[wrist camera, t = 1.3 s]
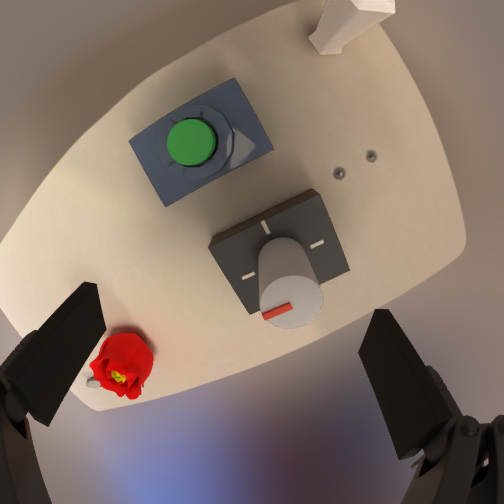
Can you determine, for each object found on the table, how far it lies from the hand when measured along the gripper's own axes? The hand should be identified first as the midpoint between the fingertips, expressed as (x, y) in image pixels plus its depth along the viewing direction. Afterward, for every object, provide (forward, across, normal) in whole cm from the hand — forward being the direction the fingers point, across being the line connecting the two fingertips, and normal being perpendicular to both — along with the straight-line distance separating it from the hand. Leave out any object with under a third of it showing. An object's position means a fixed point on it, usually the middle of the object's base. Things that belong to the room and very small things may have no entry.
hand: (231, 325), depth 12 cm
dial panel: (+18, +4, -3) cm, 19 cm away
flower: (+19, -15, -20) cm, 31 cm away
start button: (+15, -5, +7) cm, 17 cm away
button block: (+18, -5, +8) cm, 21 cm away
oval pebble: (+19, -25, -32) cm, 45 cm away
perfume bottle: (+18, +7, +20) cm, 28 cm away
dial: (+15, +4, -3) cm, 16 cm away
